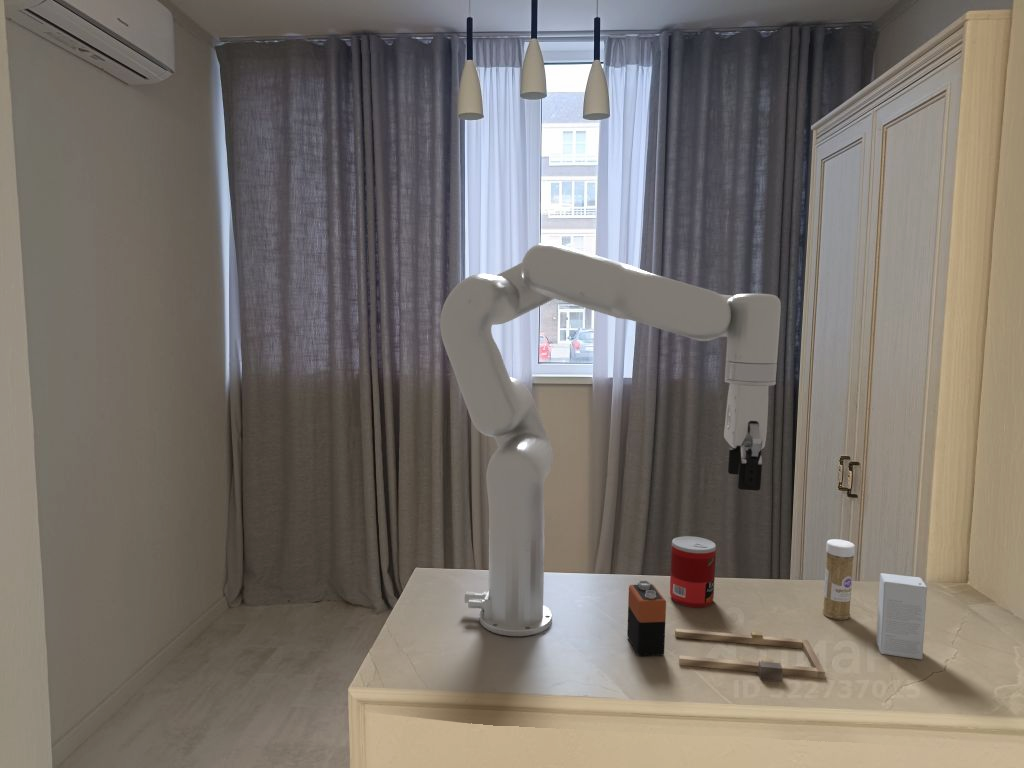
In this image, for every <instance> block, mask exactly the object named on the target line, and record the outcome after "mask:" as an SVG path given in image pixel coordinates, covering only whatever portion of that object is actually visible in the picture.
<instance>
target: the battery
mask: <svg viewBox="0 0 1024 768" xmlns="http://www.w3.org/2000/svg"><path fill="white" fill-rule="evenodd" d="M627 601H628V606H627V609H628V610H627V638H628V641H630V643H631V645H632V646H633V649H634V650H635V652H636V654H637V655H638V656H640V657H643V656H644V657H645V656H647V657H649V656H650V657H651V656H663V655H664V654H665V643H666V642H665V641H666V640H665V638H666V617H667V616H666V613H667V612H666V611H667V610H666V609H667V600H666V599H665V597H663V595H662V594H661V593H660V591H659V590H658V588H657V587H656V585H654V584H652V583H651V582H650V581H648V580H644V579H643V580H639V581H638V582H637V584H630V585H629V586H628V600H627Z"/></svg>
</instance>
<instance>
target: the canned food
mask: <svg viewBox="0 0 1024 768" xmlns="http://www.w3.org/2000/svg"><path fill="white" fill-rule="evenodd" d="M716 546H717V545H716V543H715V542H714V541H712V540H710V539H708V538H703V537H699V536H690V535H685V536H678V537H674V538H673V539H672V541H671V552H670V554H671V555H670V556H671V557H670V580H669V584H670V585H669V594H670V598H671V600H672V601H674V602H675V603H677V604H679V605H681V606H685V607H690V608H704V607H708V606H710V605H711V604H712V603H713V600H714V595H715V577H716V556H717V555H716V554H717V547H716Z"/></svg>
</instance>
